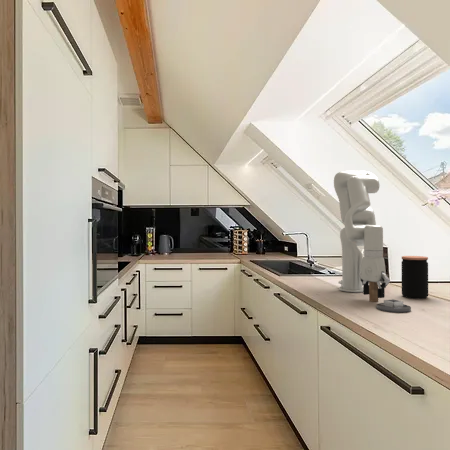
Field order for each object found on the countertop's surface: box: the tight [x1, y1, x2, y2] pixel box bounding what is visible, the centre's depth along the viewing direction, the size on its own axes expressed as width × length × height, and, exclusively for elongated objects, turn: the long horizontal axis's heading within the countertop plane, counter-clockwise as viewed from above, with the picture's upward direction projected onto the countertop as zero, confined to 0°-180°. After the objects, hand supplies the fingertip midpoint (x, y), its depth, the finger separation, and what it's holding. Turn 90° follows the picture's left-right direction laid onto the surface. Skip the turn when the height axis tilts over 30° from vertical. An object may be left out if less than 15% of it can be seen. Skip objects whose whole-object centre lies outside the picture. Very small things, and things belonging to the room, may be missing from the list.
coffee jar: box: [401, 255, 429, 300], centre depth 164 cm, size 11×11×18 cm
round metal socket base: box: [376, 298, 412, 314], centre depth 140 cm, size 12×12×3 cm
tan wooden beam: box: [368, 281, 379, 303], centre depth 155 cm, size 2×2×10 cm
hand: (373, 295), depth 155 cm, fingers open, 7 cm apart
